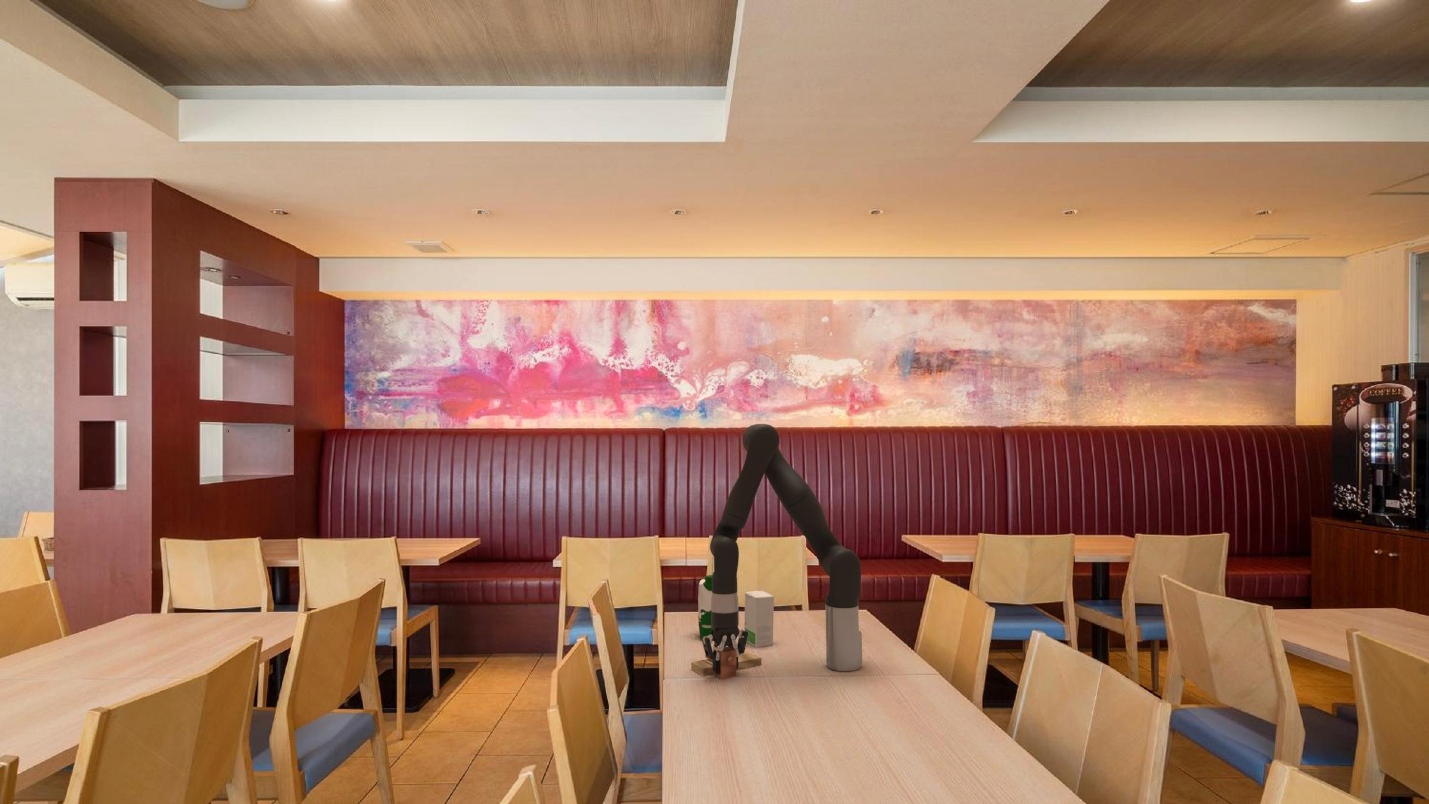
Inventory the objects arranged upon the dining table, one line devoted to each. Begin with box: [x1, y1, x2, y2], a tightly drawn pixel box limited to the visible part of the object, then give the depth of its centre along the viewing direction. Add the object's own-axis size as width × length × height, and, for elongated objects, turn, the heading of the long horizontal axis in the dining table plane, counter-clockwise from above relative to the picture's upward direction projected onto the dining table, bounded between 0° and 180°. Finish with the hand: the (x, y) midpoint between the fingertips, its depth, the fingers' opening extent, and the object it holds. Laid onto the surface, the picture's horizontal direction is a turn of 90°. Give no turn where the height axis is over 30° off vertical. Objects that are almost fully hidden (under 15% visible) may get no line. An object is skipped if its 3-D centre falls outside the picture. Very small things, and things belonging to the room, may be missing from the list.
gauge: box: [704, 646, 737, 680], centre depth 204 cm, size 4×13×7 cm, turn 30°
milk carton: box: [697, 574, 714, 641], centre depth 240 cm, size 9×9×20 cm
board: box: [690, 651, 763, 677], centre depth 208 cm, size 19×7×2 cm, turn 120°
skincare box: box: [743, 590, 775, 649], centre depth 232 cm, size 8×7×16 cm
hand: (725, 671), depth 201 cm, fingers open, 4 cm apart
